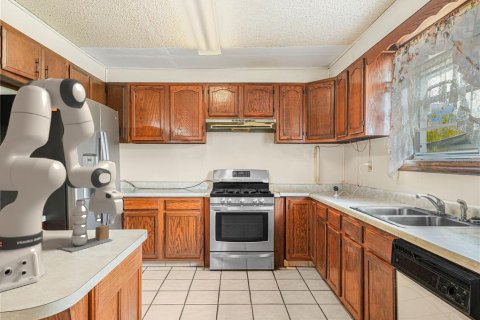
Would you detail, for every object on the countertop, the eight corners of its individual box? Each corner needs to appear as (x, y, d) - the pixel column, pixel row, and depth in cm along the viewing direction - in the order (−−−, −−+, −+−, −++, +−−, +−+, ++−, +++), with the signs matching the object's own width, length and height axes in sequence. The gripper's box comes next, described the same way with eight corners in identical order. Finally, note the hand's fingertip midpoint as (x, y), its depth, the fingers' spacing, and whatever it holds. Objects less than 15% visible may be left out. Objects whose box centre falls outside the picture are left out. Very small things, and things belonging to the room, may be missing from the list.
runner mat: (71, 252, 116) (72, 236, 116) (57, 248, 120) (57, 233, 120) (113, 240, 134) (114, 226, 134) (99, 237, 139) (100, 224, 139)
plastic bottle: (90, 243, 127) (92, 199, 127) (81, 248, 120) (82, 201, 120) (77, 242, 127) (78, 198, 127) (67, 247, 121) (68, 200, 121)
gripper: (85, 192, 137) (84, 221, 136) (114, 195, 128) (113, 226, 127) (97, 191, 142) (96, 219, 142) (125, 194, 133) (124, 223, 133)
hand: (104, 222), depth 135 cm, fingers open, 8 cm apart
